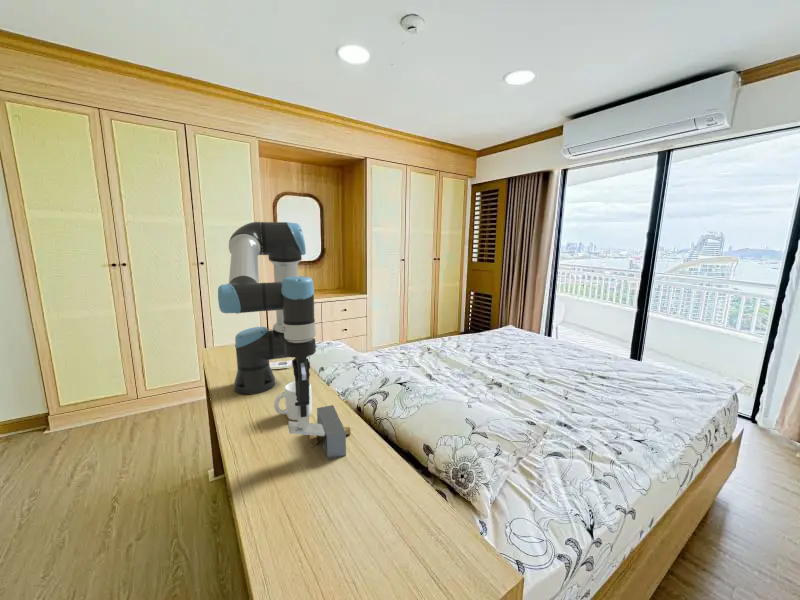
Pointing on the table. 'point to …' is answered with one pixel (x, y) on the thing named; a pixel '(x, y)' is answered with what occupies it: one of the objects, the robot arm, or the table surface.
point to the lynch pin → (315, 438)
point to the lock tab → (306, 429)
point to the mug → (291, 401)
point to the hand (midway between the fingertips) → (303, 425)
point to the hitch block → (332, 432)
